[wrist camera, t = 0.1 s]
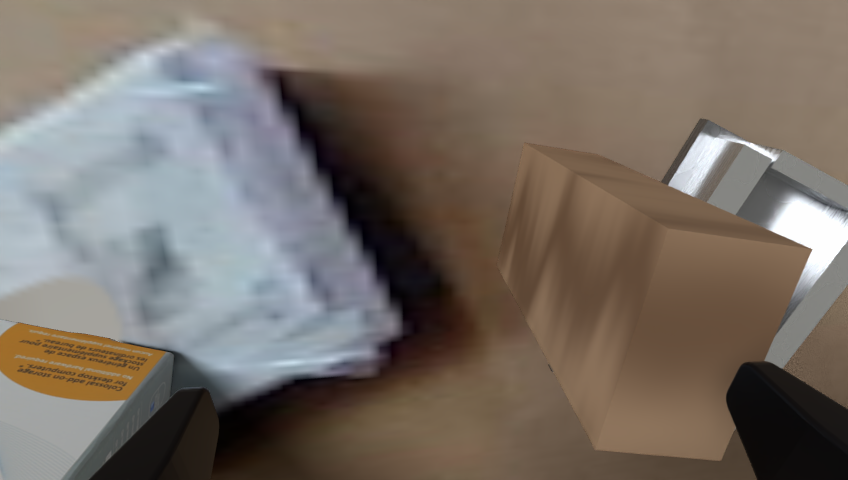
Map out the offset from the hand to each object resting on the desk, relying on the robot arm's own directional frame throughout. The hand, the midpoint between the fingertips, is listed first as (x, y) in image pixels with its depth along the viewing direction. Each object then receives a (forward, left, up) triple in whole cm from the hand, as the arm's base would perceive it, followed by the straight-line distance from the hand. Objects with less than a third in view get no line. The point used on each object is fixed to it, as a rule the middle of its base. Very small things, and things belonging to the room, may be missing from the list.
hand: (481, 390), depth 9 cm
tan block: (+3, -5, -15) cm, 17 cm away
